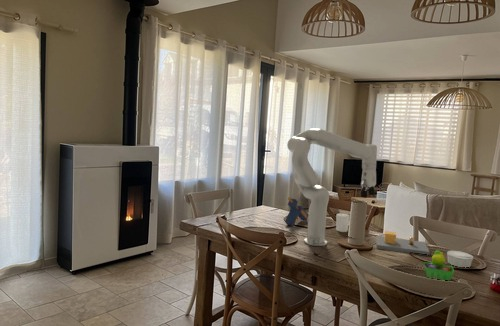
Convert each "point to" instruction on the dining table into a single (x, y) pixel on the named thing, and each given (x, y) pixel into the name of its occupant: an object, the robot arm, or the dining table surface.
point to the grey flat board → (402, 246)
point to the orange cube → (390, 237)
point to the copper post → (411, 241)
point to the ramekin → (459, 258)
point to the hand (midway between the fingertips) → (367, 196)
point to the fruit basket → (438, 267)
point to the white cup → (342, 222)
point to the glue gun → (295, 212)
